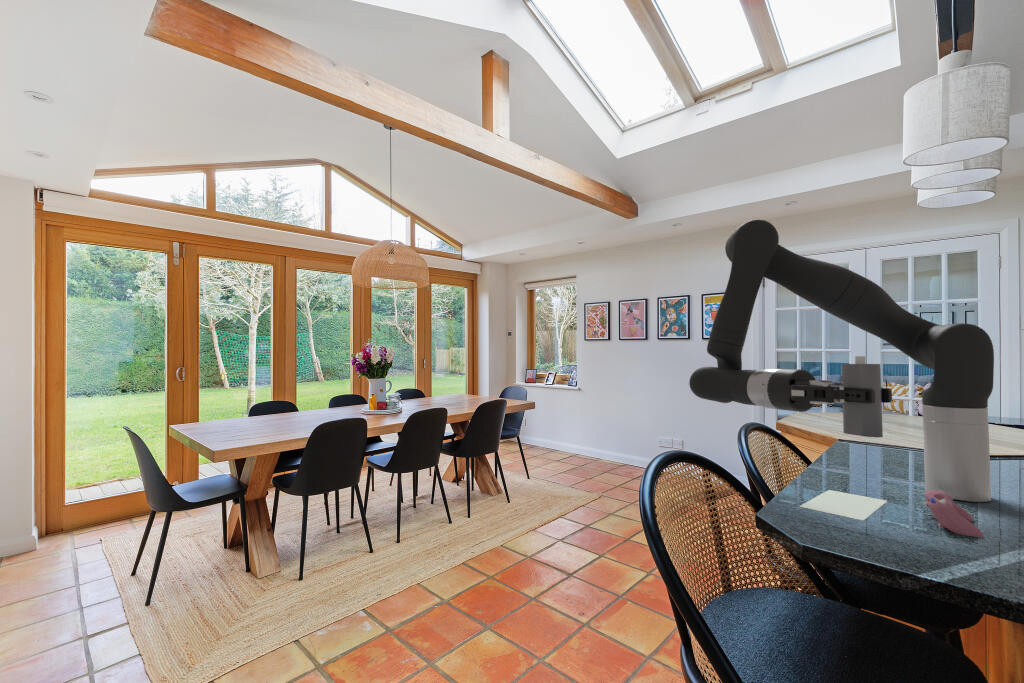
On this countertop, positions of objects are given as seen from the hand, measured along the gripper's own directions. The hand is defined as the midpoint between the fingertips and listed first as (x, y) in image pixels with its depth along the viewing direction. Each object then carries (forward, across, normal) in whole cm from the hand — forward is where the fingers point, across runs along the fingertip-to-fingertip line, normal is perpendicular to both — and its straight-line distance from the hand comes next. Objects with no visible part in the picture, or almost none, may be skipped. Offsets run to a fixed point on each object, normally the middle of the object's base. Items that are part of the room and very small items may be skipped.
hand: (881, 395), depth 69 cm
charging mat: (-11, +6, +21) cm, 24 cm away
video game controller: (+2, +12, +21) cm, 24 cm away
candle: (-3, 0, +6) cm, 7 cm away
